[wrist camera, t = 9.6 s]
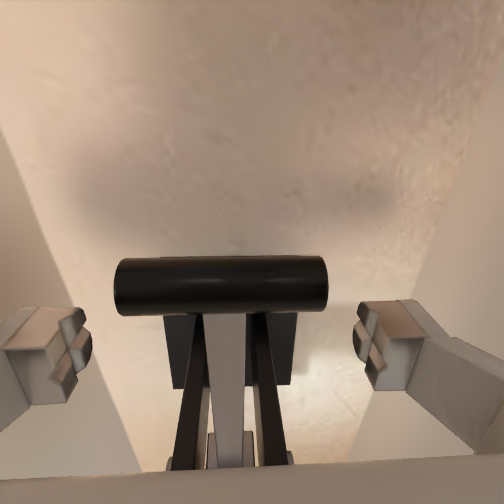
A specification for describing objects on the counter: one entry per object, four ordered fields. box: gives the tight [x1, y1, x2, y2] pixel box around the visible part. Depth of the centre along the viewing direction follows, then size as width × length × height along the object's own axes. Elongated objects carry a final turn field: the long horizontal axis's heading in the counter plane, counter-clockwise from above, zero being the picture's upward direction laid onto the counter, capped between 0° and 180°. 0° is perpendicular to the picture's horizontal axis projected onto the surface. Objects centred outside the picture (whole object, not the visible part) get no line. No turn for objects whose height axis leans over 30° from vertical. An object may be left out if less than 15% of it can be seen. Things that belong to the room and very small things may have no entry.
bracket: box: [160, 256, 298, 471], centre depth 19 cm, size 12×10×13 cm
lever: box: [114, 256, 329, 469], centre depth 12 cm, size 14×5×2 cm, turn 179°
